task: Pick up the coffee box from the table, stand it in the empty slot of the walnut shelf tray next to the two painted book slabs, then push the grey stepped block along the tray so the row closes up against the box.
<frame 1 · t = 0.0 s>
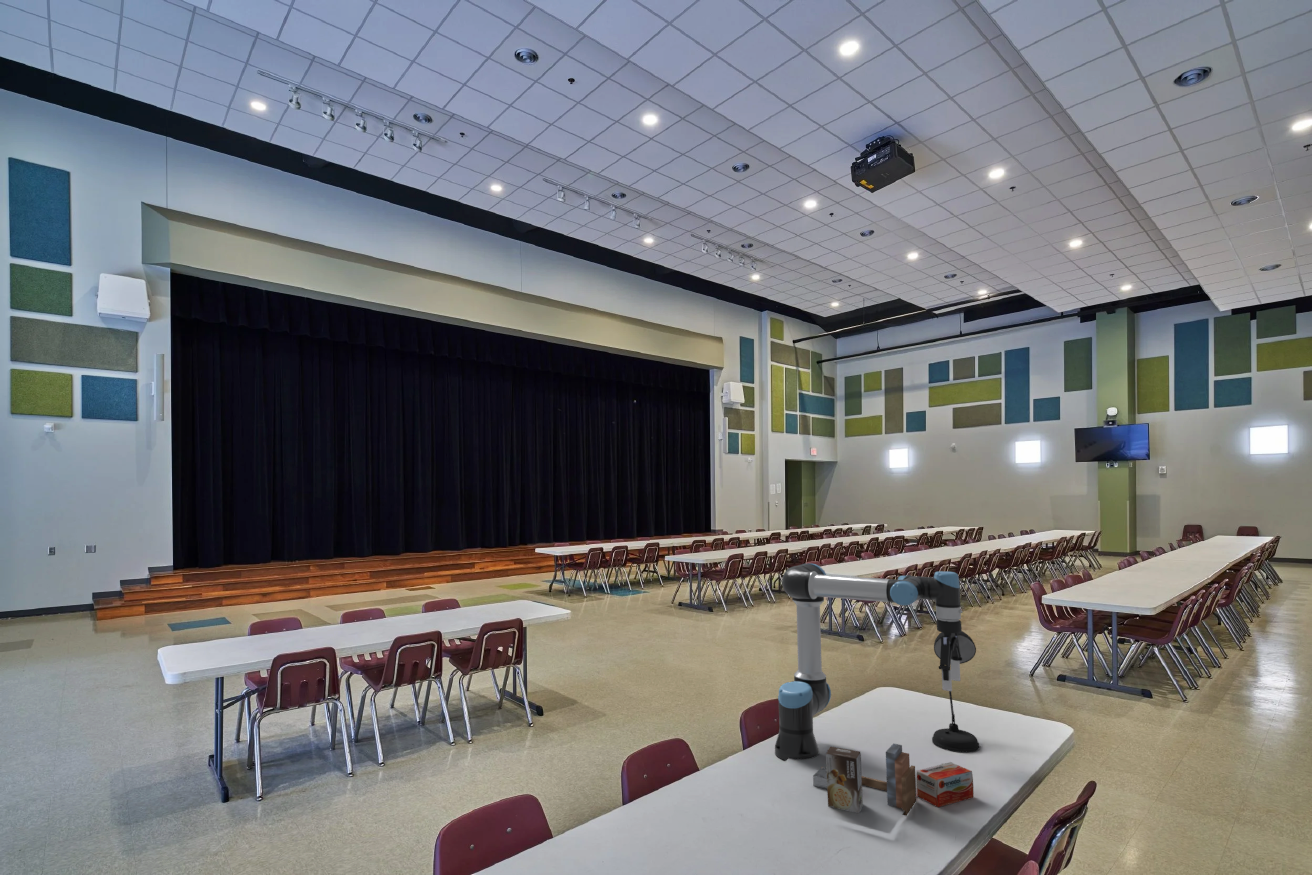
hand: (951, 685, 218), 28 cm above the table, fingers open, 13 cm apart
coffee box: (845, 810, 192), on the table
grey stepped block: (829, 771, 206), point 5 cm above the table, slide at 0.0 cm
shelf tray: (861, 795, 200), on the table
medicine box: (945, 798, 199), on the table
desk lamp: (955, 745, 240), on the table
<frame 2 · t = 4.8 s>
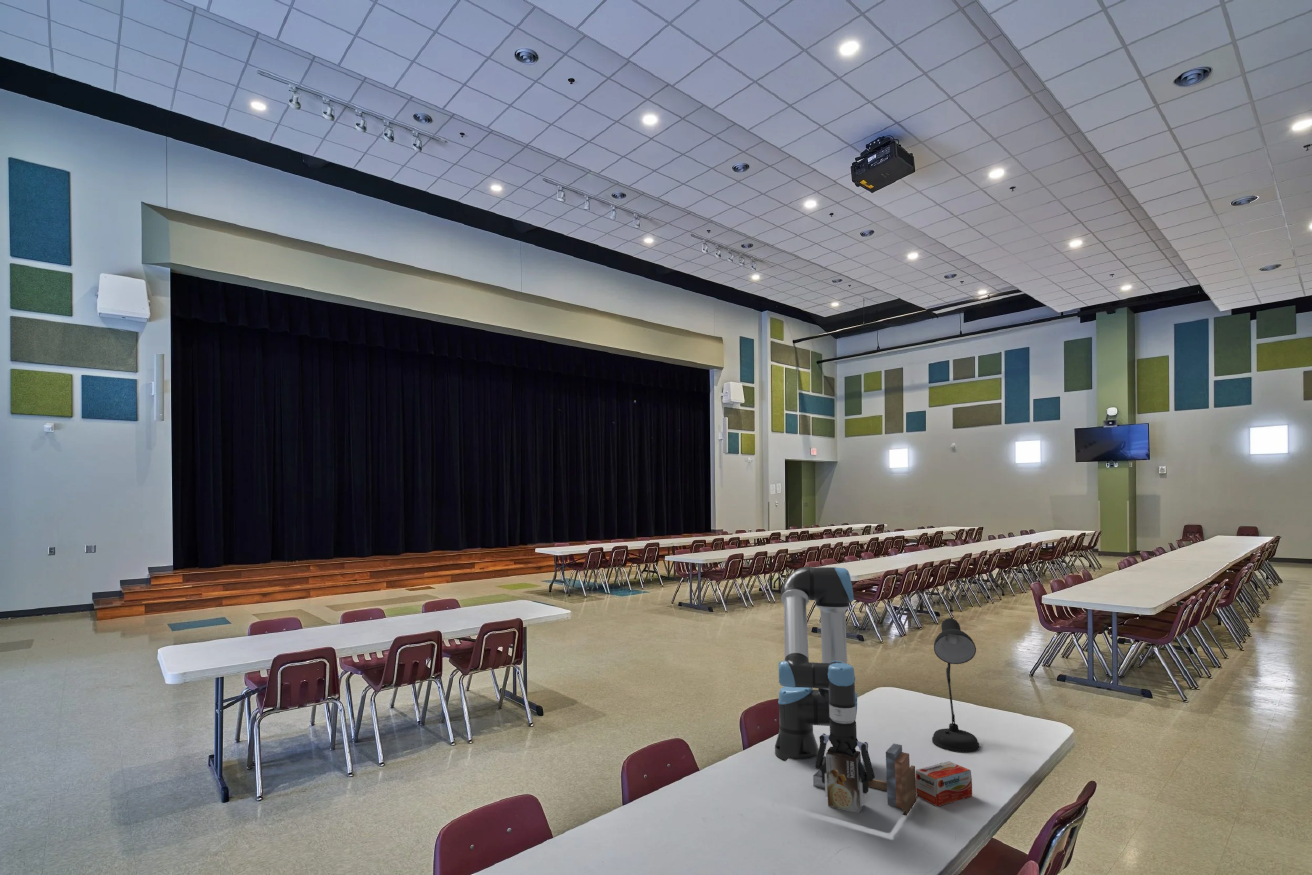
hand: (845, 799, 192), 3 cm above the table, fingers closed on coffee box, 9 cm apart
coffee box: (845, 810, 192), on the table, touching gripper
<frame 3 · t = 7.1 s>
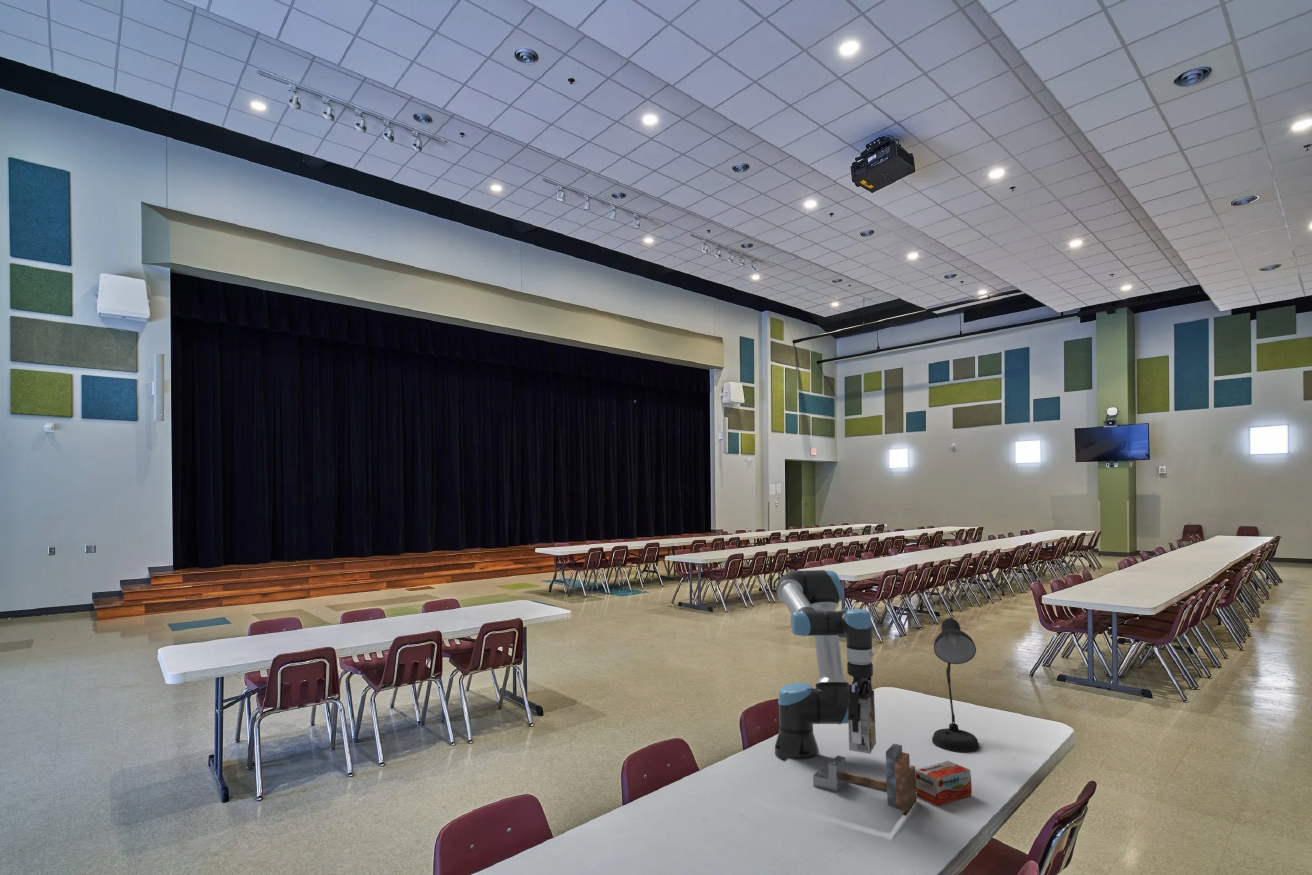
hand: (862, 737, 201), 17 cm above the table, fingers closed on coffee box, 9 cm apart
coffee box: (862, 747, 201), point 14 cm above the table, touching gripper
everything else where it was.
when the fingers open (5 cm above the table, at t = 9.8 s): coffee box drops 1 cm, resting on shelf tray.
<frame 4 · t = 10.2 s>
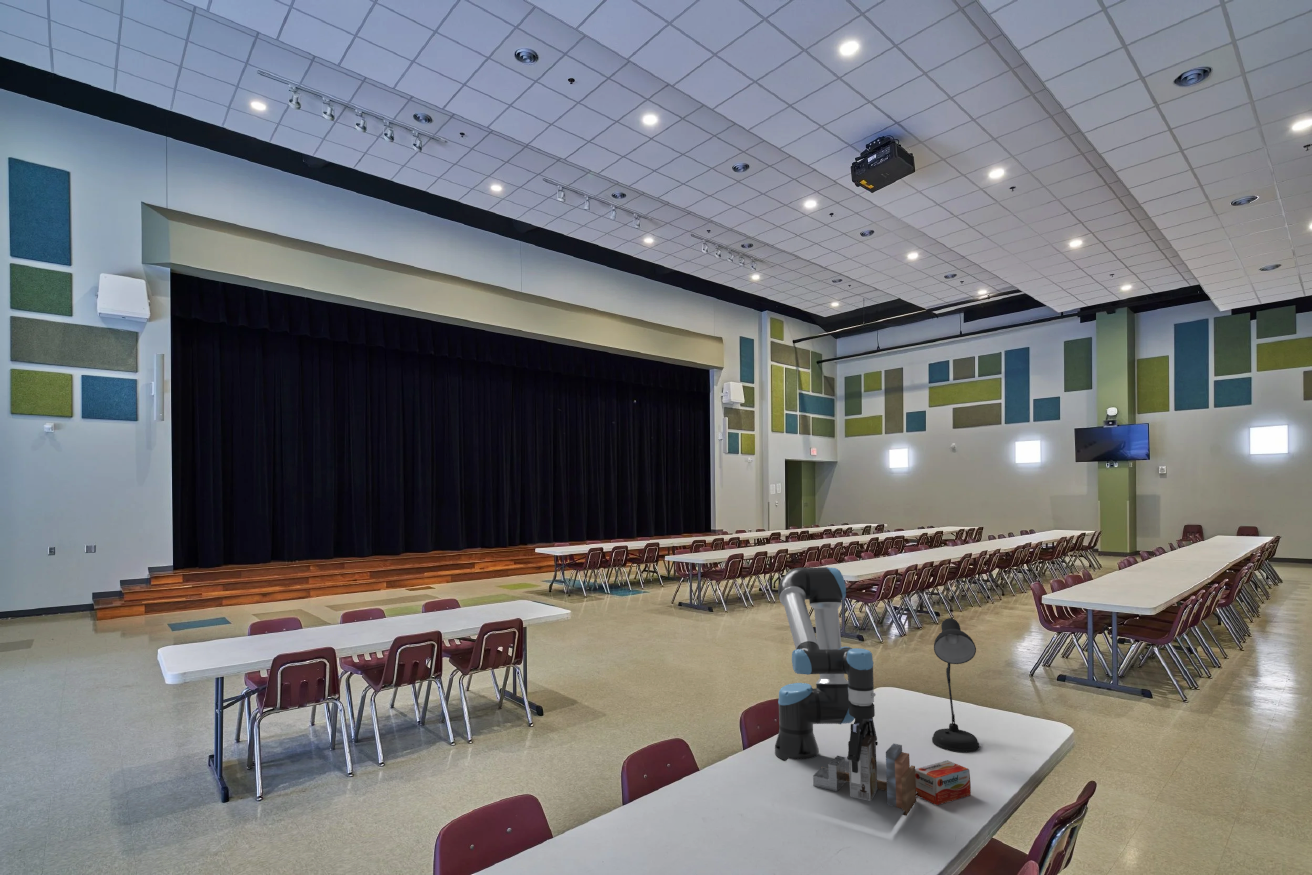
hand: (863, 774, 200), 6 cm above the table, fingers open, 13 cm apart
coffee box: (863, 794, 199), point 1 cm above the table, touching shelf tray
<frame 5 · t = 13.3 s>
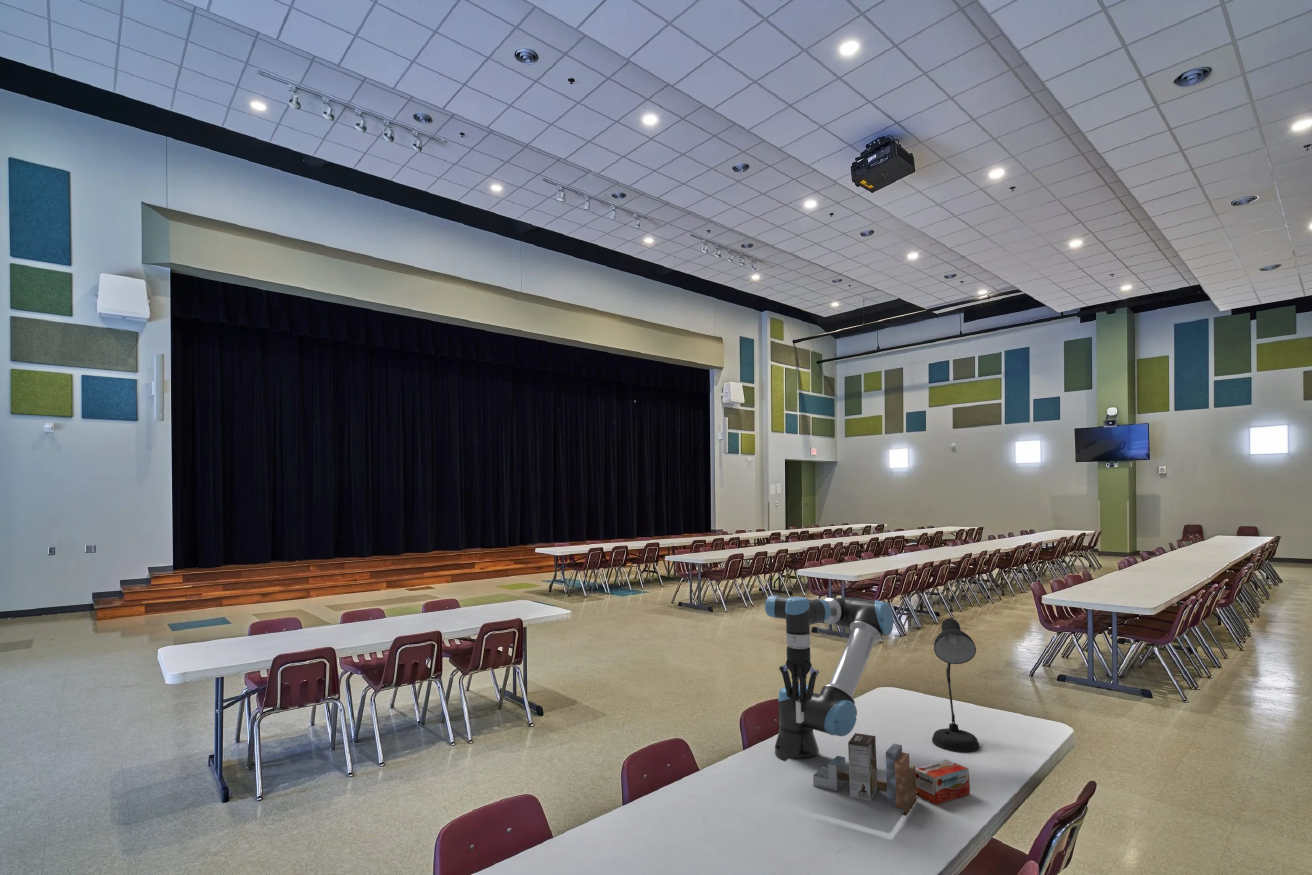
hand: (800, 721, 212), 18 cm above the table, fingers closed
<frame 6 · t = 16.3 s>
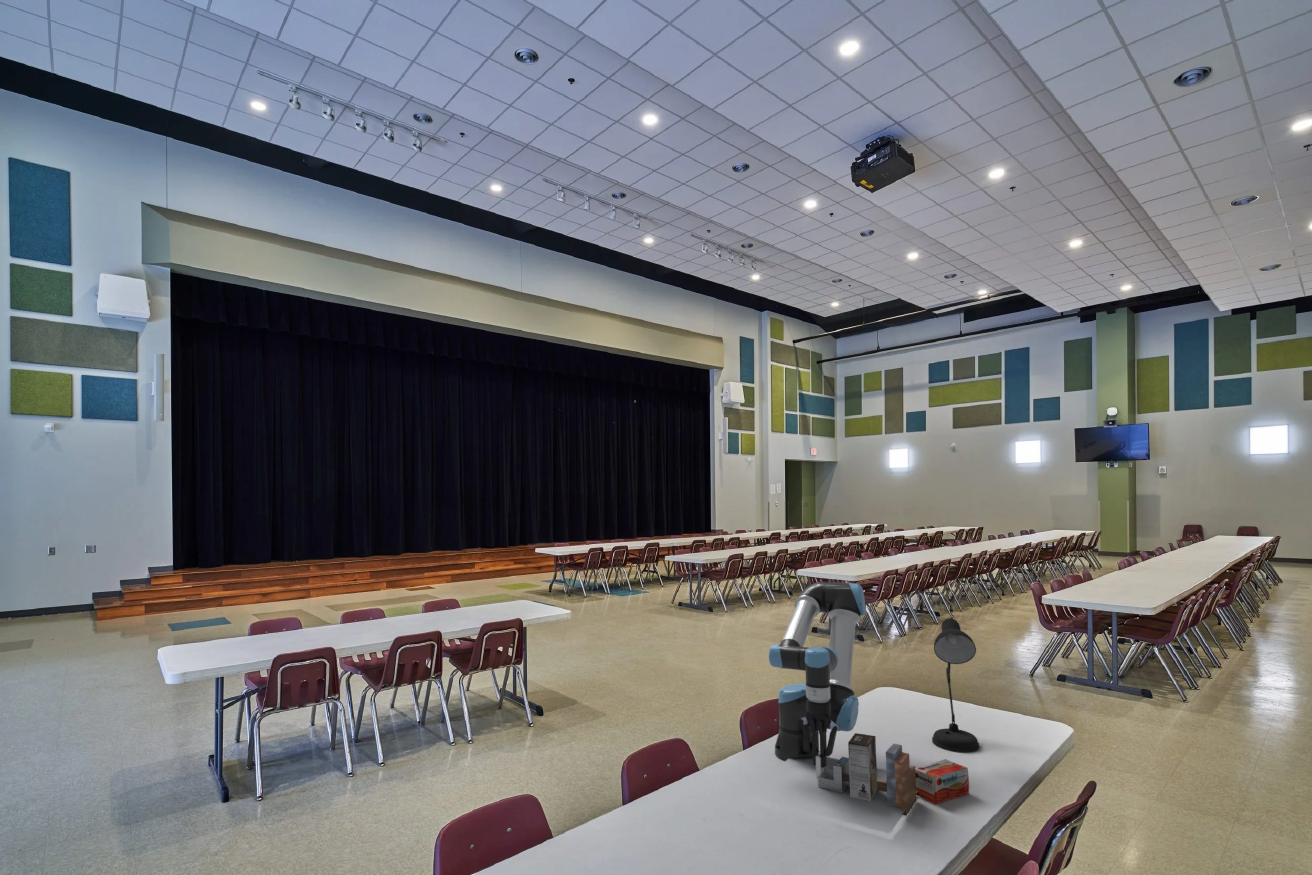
hand: (820, 776, 207), 3 cm above the table, fingers closed
grey stepped block: (834, 772, 205), point 5 cm above the table, slide at 1.6 cm, touching gripper
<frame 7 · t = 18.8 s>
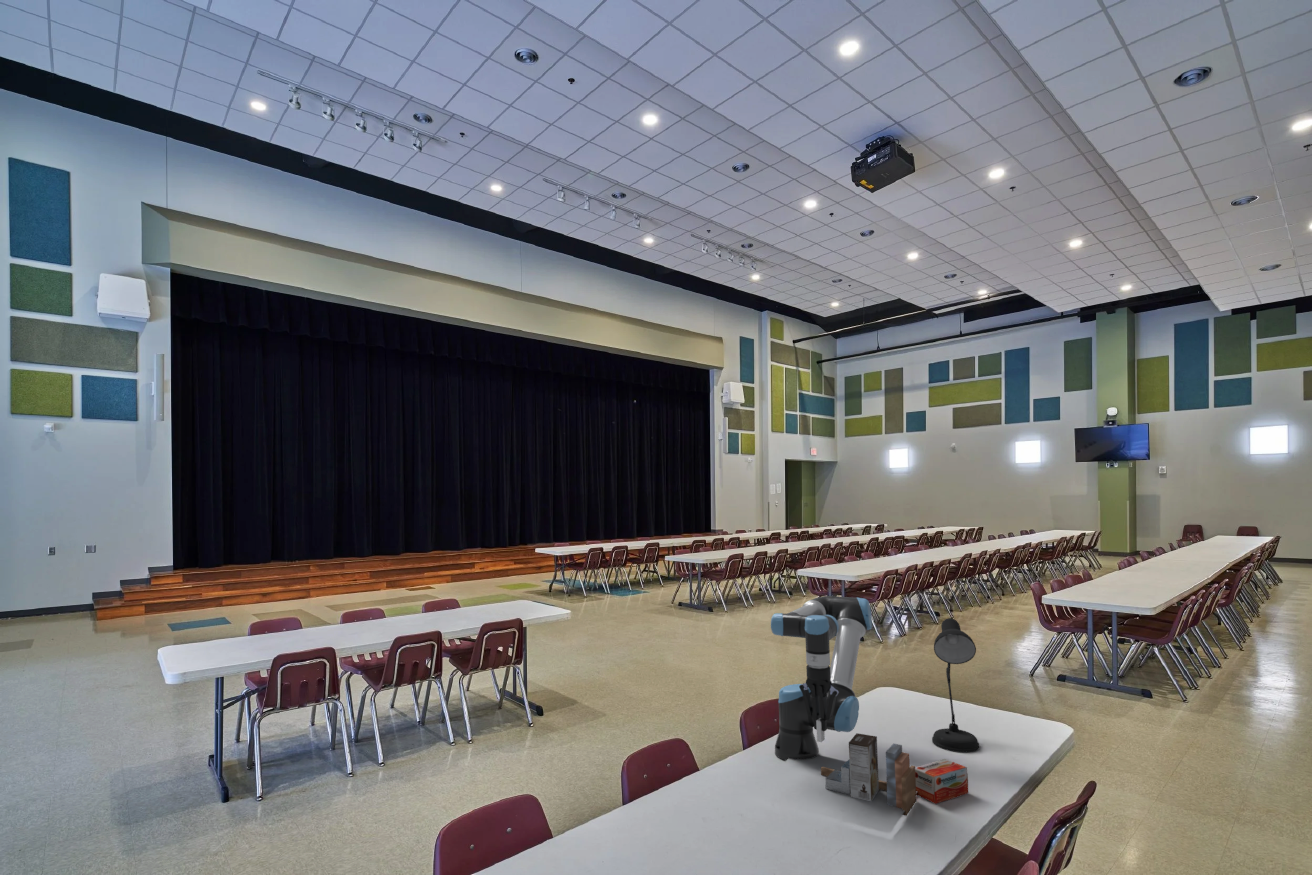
hand: (820, 740, 212), 12 cm above the table, fingers closed
grey stepped block: (841, 774, 204), point 5 cm above the table, slide at 4.0 cm
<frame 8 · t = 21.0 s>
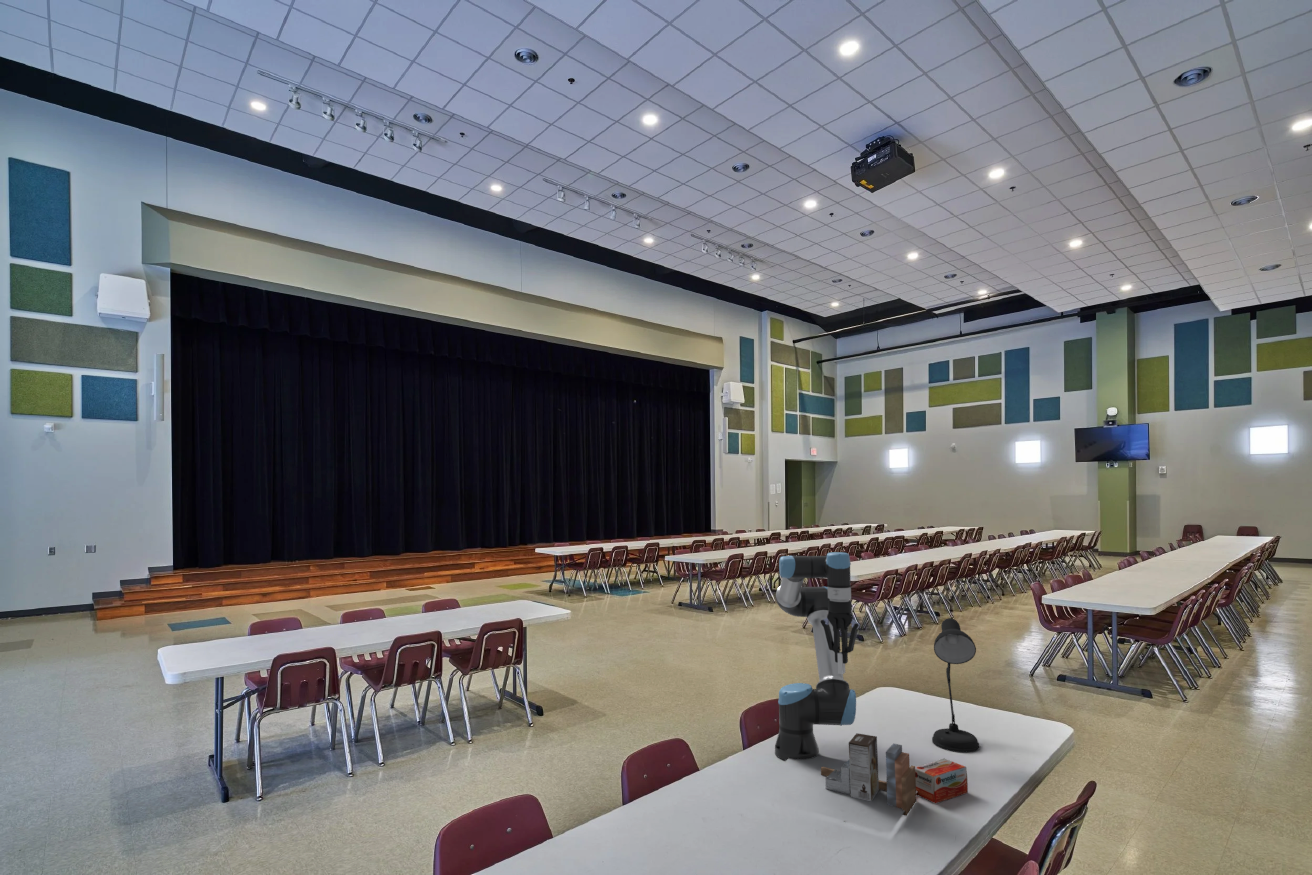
hand: (841, 672, 217), 32 cm above the table, fingers closed
at the end: coffee box inside the target area (1.8 cm from its centre), point 0.8 cm above the table; coffee box tilted 0°; grey stepped block slide at 4.0 cm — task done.
